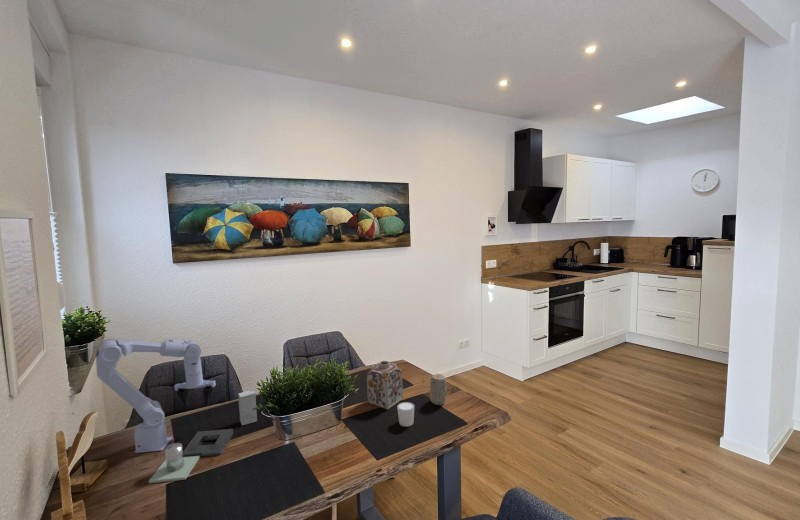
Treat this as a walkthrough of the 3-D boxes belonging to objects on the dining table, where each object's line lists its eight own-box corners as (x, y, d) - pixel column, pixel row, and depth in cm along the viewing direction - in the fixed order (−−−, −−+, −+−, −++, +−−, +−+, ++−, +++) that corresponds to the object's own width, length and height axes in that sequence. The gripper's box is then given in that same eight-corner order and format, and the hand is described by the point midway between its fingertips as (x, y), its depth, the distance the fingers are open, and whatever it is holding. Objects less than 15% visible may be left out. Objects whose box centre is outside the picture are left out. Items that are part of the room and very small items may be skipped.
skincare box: (242, 426, 152) (239, 397, 151) (239, 421, 156) (237, 393, 154) (257, 421, 155) (255, 393, 154) (255, 416, 159) (253, 389, 158)
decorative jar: (383, 392, 177) (382, 355, 175) (403, 399, 170) (402, 360, 168) (366, 403, 167) (365, 364, 165) (387, 410, 160) (386, 370, 158)
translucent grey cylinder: (163, 470, 125) (160, 451, 124) (176, 461, 130) (173, 442, 129) (175, 472, 123) (173, 452, 123) (187, 463, 128) (185, 443, 127)
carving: (443, 407, 161) (442, 380, 160) (427, 403, 165) (426, 377, 164) (449, 401, 167) (448, 375, 166) (433, 397, 171) (432, 372, 169)
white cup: (395, 425, 149) (394, 408, 148) (401, 416, 155) (401, 400, 154) (411, 428, 146) (410, 411, 145) (417, 419, 152) (416, 403, 152)
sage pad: (149, 483, 120) (148, 480, 120) (166, 461, 131) (166, 459, 131) (185, 479, 121) (185, 477, 121) (199, 457, 132) (199, 455, 132)
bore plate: (182, 457, 133) (182, 452, 132) (198, 436, 145) (197, 431, 145) (221, 454, 134) (220, 448, 134) (233, 433, 147) (232, 428, 147)
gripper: (216, 366, 152) (220, 398, 154) (178, 369, 150) (183, 402, 152) (210, 374, 145) (214, 407, 147) (170, 377, 143) (174, 411, 145)
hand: (197, 405), depth 149 cm, fingers open, 7 cm apart
